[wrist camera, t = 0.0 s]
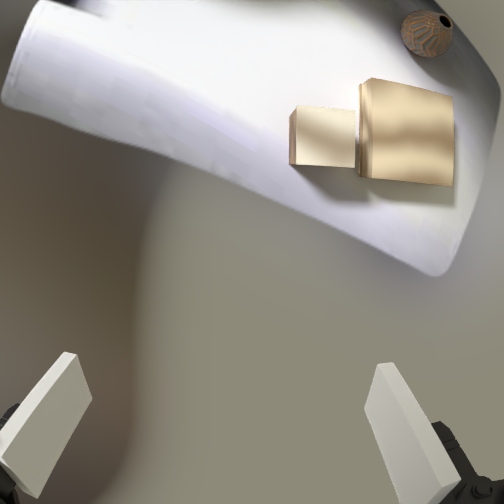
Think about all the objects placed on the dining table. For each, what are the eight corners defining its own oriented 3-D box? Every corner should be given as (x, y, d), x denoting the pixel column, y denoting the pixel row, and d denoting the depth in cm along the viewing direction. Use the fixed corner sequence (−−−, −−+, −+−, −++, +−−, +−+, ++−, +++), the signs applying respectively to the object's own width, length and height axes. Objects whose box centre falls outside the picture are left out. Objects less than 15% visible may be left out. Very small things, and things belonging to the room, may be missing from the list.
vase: (437, 66, 31) (471, 51, 23) (397, 57, 31) (428, 37, 23) (429, 27, 30) (460, 8, 21) (390, 17, 30) (417, -8, 21)
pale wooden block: (288, 116, 34) (297, 105, 28) (337, 119, 34) (355, 110, 28) (288, 164, 36) (296, 164, 29) (336, 167, 36) (354, 167, 29)
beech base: (357, 86, 33) (370, 77, 29) (433, 101, 33) (452, 96, 29) (357, 176, 37) (371, 178, 32) (433, 184, 37) (452, 187, 32)
